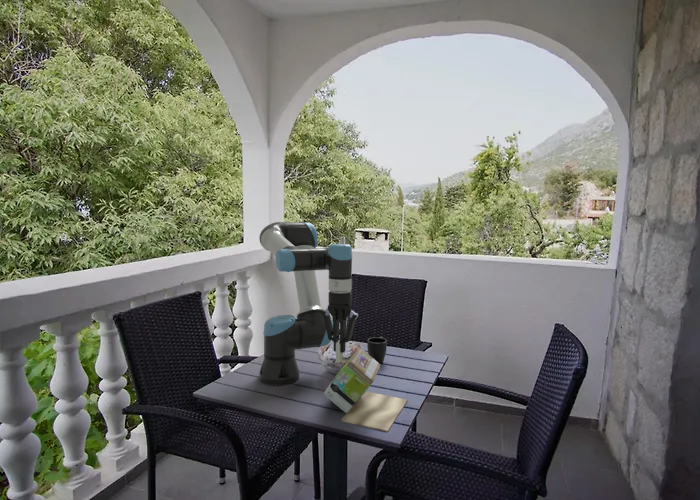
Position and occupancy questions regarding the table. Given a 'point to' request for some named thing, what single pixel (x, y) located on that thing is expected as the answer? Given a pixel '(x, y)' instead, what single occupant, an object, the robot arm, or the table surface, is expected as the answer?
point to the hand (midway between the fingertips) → (339, 361)
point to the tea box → (352, 380)
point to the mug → (377, 348)
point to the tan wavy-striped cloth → (375, 411)
